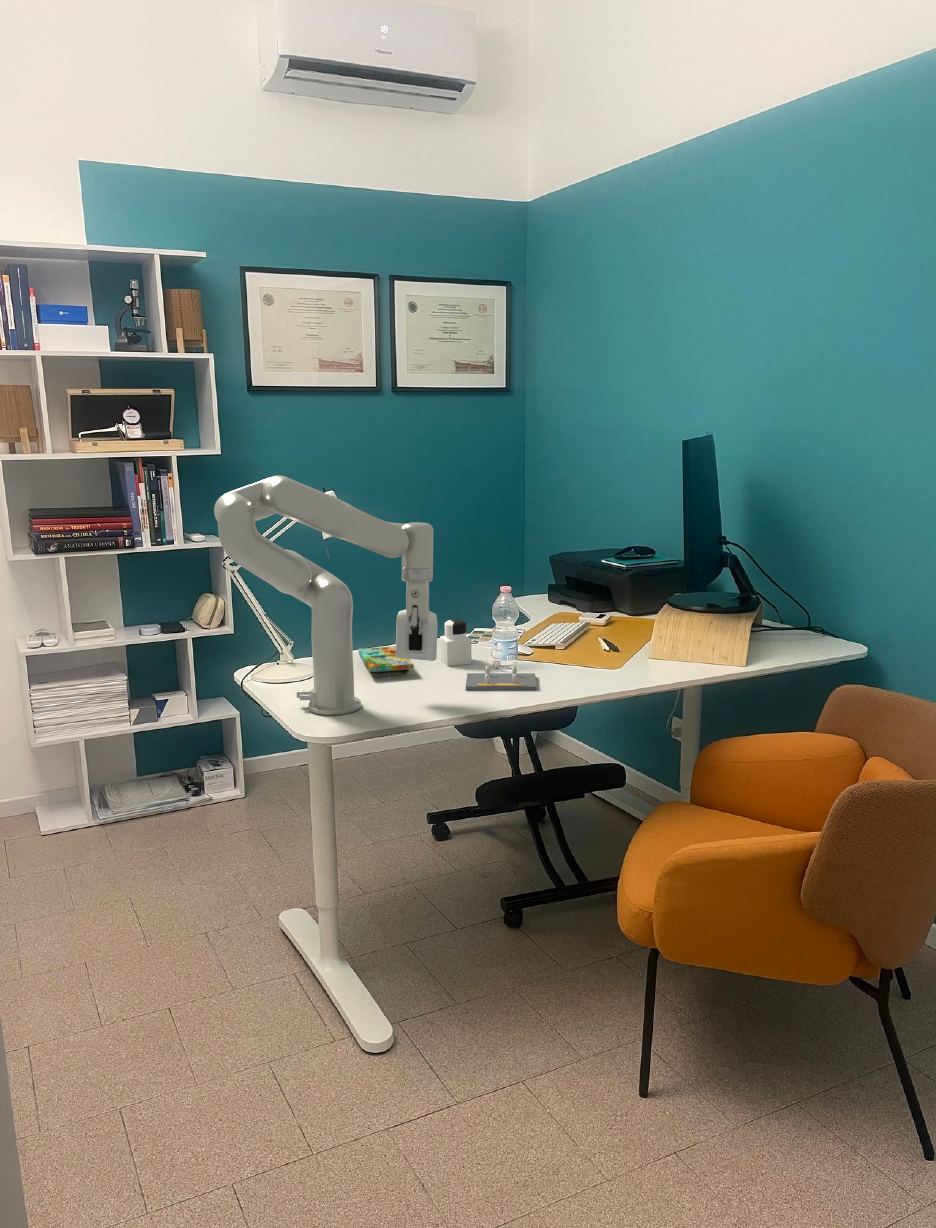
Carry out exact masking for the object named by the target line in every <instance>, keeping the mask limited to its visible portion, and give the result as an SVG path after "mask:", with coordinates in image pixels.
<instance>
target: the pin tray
mask: <svg viewBox="0 0 936 1228" xmlns="http://www.w3.org/2000/svg"><path fill="white" fill-rule="evenodd" d="M517 670H518V668H517V666H516V665H513V666H512V667H511V672H509V673H505V672H503V673H502V672H501V673H500V672H497V673H496V672H495V673H493V672H492V673H491V666H490V665H486V666H485V672H481V673H480V672H477V673H476V672H474V673H472V672H470V673H466V680H465V691H538V690H537V688H538V687H537V686H538V685H537V679H536V673H535V672H533V673H526V672H525V673H523V672H522V673H521V672H519V673H518V672H517Z"/></svg>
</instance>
